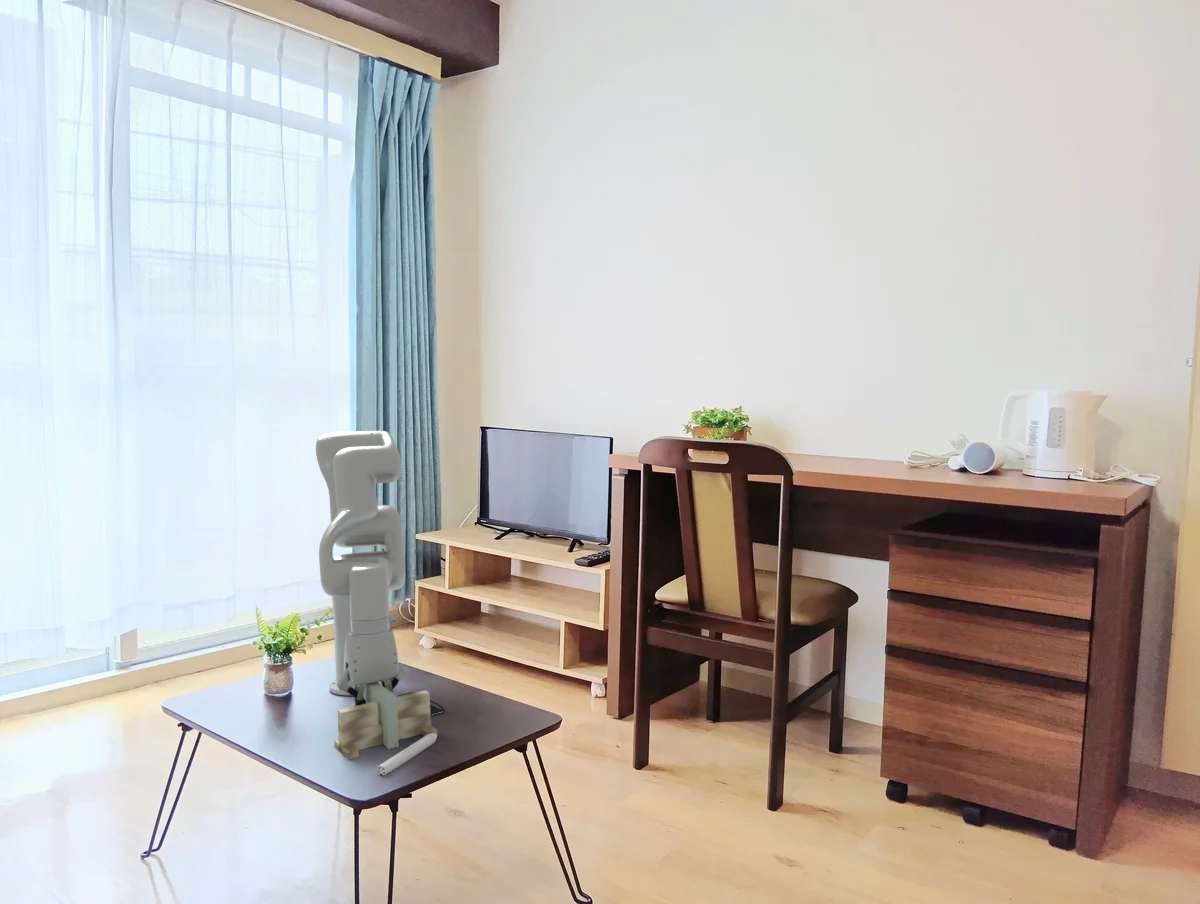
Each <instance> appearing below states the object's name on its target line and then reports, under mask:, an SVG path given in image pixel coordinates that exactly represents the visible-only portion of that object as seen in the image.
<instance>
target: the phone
mask: <svg viewBox="0 0 1200 904" xmlns="http://www.w3.org/2000/svg"><path fill="white" fill-rule="evenodd" d="M416 692H417V691H415V692H414V691H412V692H411V691H410V692H406V693H401V694H398V695H396V696H397V697H398V696H402V695H407V694H411V693H416ZM443 710H444V711H445V708H444V706H442V705H440V704H439V703H437V702H435V701H433V700H431V699H430V715H432V714H435V713H438V712H442V711H443Z"/></svg>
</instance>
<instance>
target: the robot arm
mask: <svg viewBox="0 0 1200 904" xmlns="http://www.w3.org/2000/svg"><path fill="white" fill-rule="evenodd" d="M315 456H316V460H317V463H318V467H319V470H320V472H321V474H322V477H323V479H324V481H325V484H326V485H327V490H328V495H329V497H328V499H329V506H330V507H329V511H330V513H329V514H330V523H329V525H328V526H327V528H326V529H325V530H324V533H323V534H322V537H321V540H320V543H319V549H318V561H319V573H320V583H321V584H320V585H321V588H322V590H323V592H324V593H325V594H326V595H328V596H330V597H331V601H332V602H331V603H332V613H333V614H332V615H333V634H334V635H333V636H334V637H333V638H334V657H335V659H334V661H335V679H334V680H333V681H331V683H330V684H329V692H331V693H332V694H334V695H339V696H352V697H353V698H354V706H358V705H362V704H366V700H365V699H364V696H363V694H364V688H365V684H369V683H374V682H377V683H379V684H380V685H382V686H383V687H385V688H386V689H387V690H389V691H390V692H392V693H393V692H394V689H395V687H397V685H398V684H399V682H400V681H402V679H404V677H406V676H407V672H406V670H405V669H404V668H403V666H402V665H401V664H400V663H399V657H398V648H397V642H396V639H395V635H394V630H393V629H392V628H391V625H392V624H393V623H396V622H397V620H396V619H397V618H396V616H395V615H391V614H390V608H389V592H390V591H391V592H392V591H397V590H399V589H401V588H402V587H403V586H404V585H405V582H406V564H405V563H406V562H405V551H404V538H403V528H402V527H403V526H402V520H401V517H400V513H399V511H398V510H397V508H396V507H394V506H392V505H388V504H381V505H380V504H379V505H378V500H377V492H376V491H377V490H376V484H386V483H387V484H388V483H389V484H391V483H395V482H397V481H398V480H399V479H400V476H401V473H402V462H401V458H400V457H401V456H400V452H399V449H398V447H397V445H396V443H395V440H394V438H393V436H392V434H391V433H390V432H388V431H385V430H359V431H354V430H353V431H350V430H349V431H335V432H333V431H332V432H329V433H325V434H321V436H319V437H318V438H317V439H316V443H315ZM334 545H336V546H337V547H339V548H362V547H377V546H378V547H381V548H382V549H383V550H377V551H364V552H362V551H361V552H351V553H344V554H340V555H338V556H336V557H335V556H334V554H333V550H334ZM333 556H334V557H333Z"/></svg>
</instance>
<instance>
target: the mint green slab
mask: <svg viewBox="0 0 1200 904" xmlns="http://www.w3.org/2000/svg"><path fill="white" fill-rule="evenodd" d="M363 696H364V699H365V700H366V704H367V703H371V702H375V703H376V704H378V721H379V722H380V723H381V724H382V725H383V743H384V744H383V746H384V747H385V746H386V747H385V748H387V749H388V750H392V749H395V748H394V747H396V748H399V740H398V716H397V696H398V695H396V694H395V693H393V692H390V691H389V690H387V689H386V688H385V687H383V686H382V685H380V684H379V683H377V682H374V683H369V684H365V688H364V694H363ZM391 748H392V749H391Z"/></svg>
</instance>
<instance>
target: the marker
mask: <svg viewBox="0 0 1200 904" xmlns="http://www.w3.org/2000/svg"><path fill="white" fill-rule="evenodd" d="M437 738H438V733H437V734H435V733H431V734H428V735H426V736H424V735H423V737H422V738H420V739H418V740H417V741H415V742H414V743H411V745H409V746H407V747H406V748H404V749H401V751H400V752H398V753H397V754H395V755H393V756H391V757H390V758H389V759H387V760H385V761H384V762H383V763H380V764H379V765H378V766H377V767H376V774H377V775H378V773H379V774H381V773H382V774H381V775H383V774H385V776H386V774H387V773H388V774H390V773H392V772H393V771H394V770H396V769H398V768H400V766H402V765H404V764H405V763H406V762H408V761H409V760H412V759H413V758H414V757H416V756H417V755H418V754H420V753H422V752H423V751H425V750H426V749H427V748H429V747H430V746H432V745H434V743H436V741H437ZM395 768H396V769H395ZM392 770H393V771H392ZM389 772H390V773H389ZM388 774H387V775H388Z"/></svg>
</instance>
